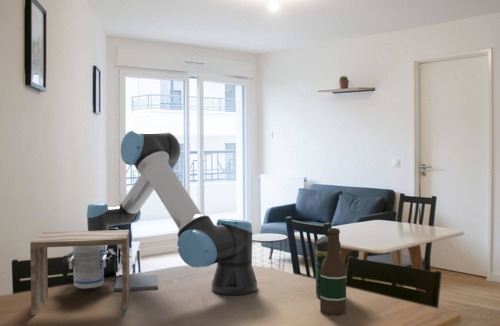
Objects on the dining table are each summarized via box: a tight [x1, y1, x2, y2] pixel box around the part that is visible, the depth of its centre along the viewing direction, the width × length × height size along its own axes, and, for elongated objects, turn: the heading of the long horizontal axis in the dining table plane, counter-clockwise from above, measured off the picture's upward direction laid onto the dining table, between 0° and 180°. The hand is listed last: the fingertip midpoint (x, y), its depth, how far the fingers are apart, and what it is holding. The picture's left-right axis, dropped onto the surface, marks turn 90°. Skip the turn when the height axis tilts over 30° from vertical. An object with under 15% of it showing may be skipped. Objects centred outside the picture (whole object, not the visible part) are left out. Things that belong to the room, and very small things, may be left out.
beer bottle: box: [319, 227, 347, 317], centre depth 140 cm, size 8×8×24 cm
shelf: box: [29, 229, 130, 316], centre depth 147 cm, size 16×26×20 cm, turn 101°
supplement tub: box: [72, 245, 105, 290], centre depth 161 cm, size 10×10×15 cm
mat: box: [113, 274, 159, 292], centre depth 168 cm, size 14×14×1 cm
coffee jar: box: [315, 236, 342, 298], centre depth 155 cm, size 10×8×19 cm
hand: (87, 264), depth 156 cm, fingers closed on supplement tub, 9 cm apart
